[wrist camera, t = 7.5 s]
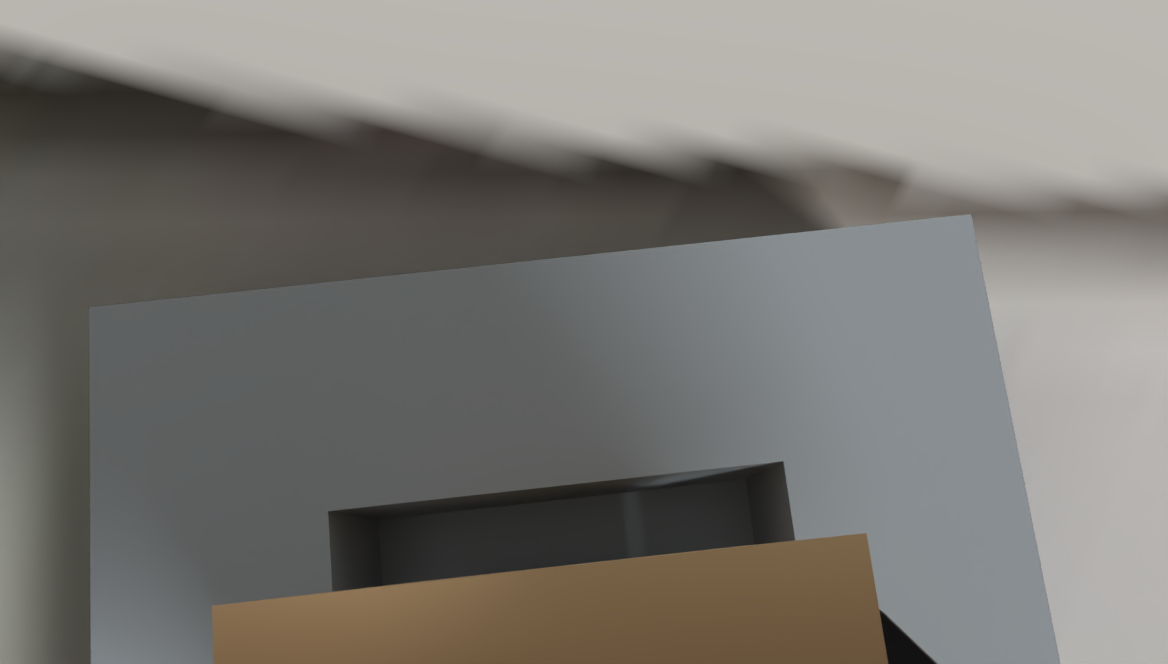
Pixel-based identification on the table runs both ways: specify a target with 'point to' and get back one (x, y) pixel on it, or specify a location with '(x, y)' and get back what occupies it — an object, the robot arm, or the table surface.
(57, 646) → the table surface
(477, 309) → the socket
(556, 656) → the peg
